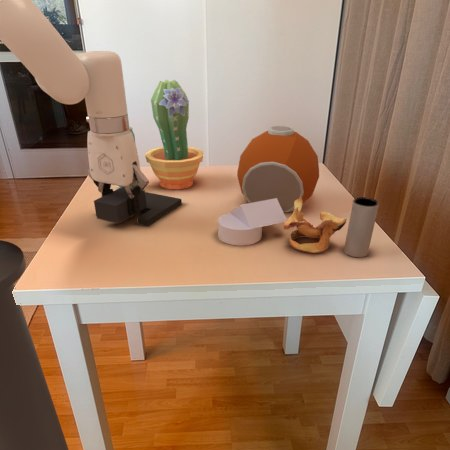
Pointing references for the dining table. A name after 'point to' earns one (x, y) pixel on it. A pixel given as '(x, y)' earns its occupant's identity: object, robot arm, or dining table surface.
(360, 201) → the grey cylinder
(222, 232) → the wedge on round base
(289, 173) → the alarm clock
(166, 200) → the base pad
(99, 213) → the black rectangular block
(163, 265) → the dining table surface
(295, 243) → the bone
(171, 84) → the potted cactus
